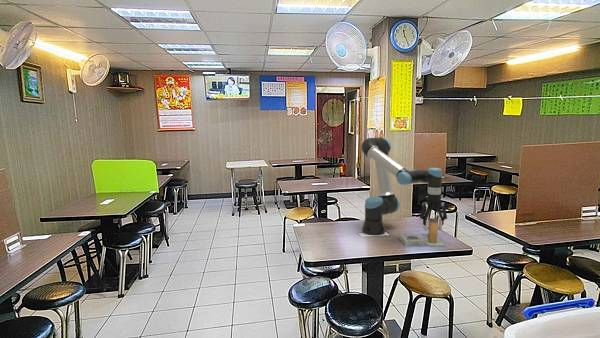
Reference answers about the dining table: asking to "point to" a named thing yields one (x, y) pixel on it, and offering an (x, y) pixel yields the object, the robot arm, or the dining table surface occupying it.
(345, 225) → the dining table surface
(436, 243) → the mat
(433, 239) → the orange tall cylinder
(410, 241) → the housing
